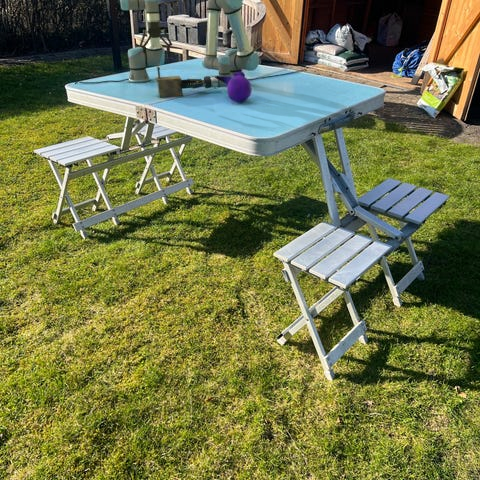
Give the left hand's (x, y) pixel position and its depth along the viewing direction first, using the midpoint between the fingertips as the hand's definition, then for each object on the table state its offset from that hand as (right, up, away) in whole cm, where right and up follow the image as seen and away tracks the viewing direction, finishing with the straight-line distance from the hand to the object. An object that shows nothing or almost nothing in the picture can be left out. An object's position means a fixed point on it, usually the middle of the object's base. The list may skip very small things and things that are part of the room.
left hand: (157, 58), depth 283 cm
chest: (+6, -19, +13) cm, 24 cm away
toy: (+49, -27, -2) cm, 56 cm away
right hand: (+12, -13, +10) cm, 20 cm away
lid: (+6, -10, +8) cm, 14 cm away
